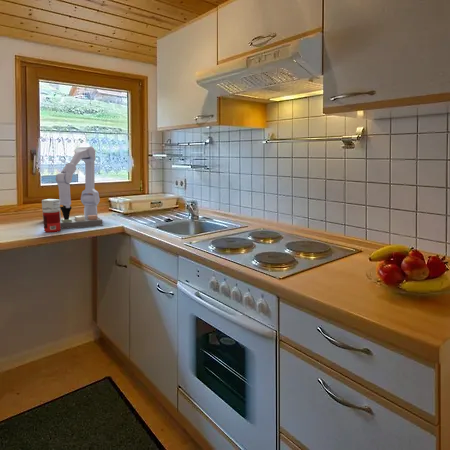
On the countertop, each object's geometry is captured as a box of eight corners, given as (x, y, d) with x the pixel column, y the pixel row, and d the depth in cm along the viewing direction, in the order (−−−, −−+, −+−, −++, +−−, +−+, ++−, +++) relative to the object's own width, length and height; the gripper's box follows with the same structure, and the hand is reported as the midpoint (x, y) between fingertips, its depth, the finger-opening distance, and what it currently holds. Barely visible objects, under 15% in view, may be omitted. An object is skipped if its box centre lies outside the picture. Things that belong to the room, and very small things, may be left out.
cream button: (75, 221, 223) (74, 216, 222) (83, 220, 225) (82, 215, 225) (76, 222, 219) (76, 217, 219) (84, 221, 222) (84, 216, 221)
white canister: (42, 221, 235) (41, 200, 233) (50, 219, 242) (49, 198, 240) (53, 221, 234) (51, 200, 231) (61, 219, 241) (59, 199, 238)
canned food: (64, 230, 208) (62, 209, 206) (53, 233, 200) (51, 211, 198) (52, 229, 210) (50, 209, 208) (41, 232, 203) (39, 211, 201)
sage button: (62, 224, 220) (61, 219, 219) (70, 223, 222) (69, 218, 221) (63, 225, 216) (63, 220, 215) (71, 224, 218) (71, 219, 218)
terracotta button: (87, 220, 227) (87, 215, 226) (95, 219, 229) (95, 214, 228) (89, 221, 223) (89, 216, 222) (97, 220, 225) (97, 215, 225)
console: (57, 225, 222) (57, 220, 221) (97, 221, 233) (97, 216, 233) (61, 228, 212) (60, 223, 211) (102, 225, 223) (102, 219, 223)
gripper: (54, 194, 220) (56, 218, 222) (59, 196, 208) (61, 221, 210) (68, 193, 224) (69, 217, 226) (73, 195, 211) (75, 220, 214)
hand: (66, 219), depth 218 cm, fingers closed, pressing on sage button
